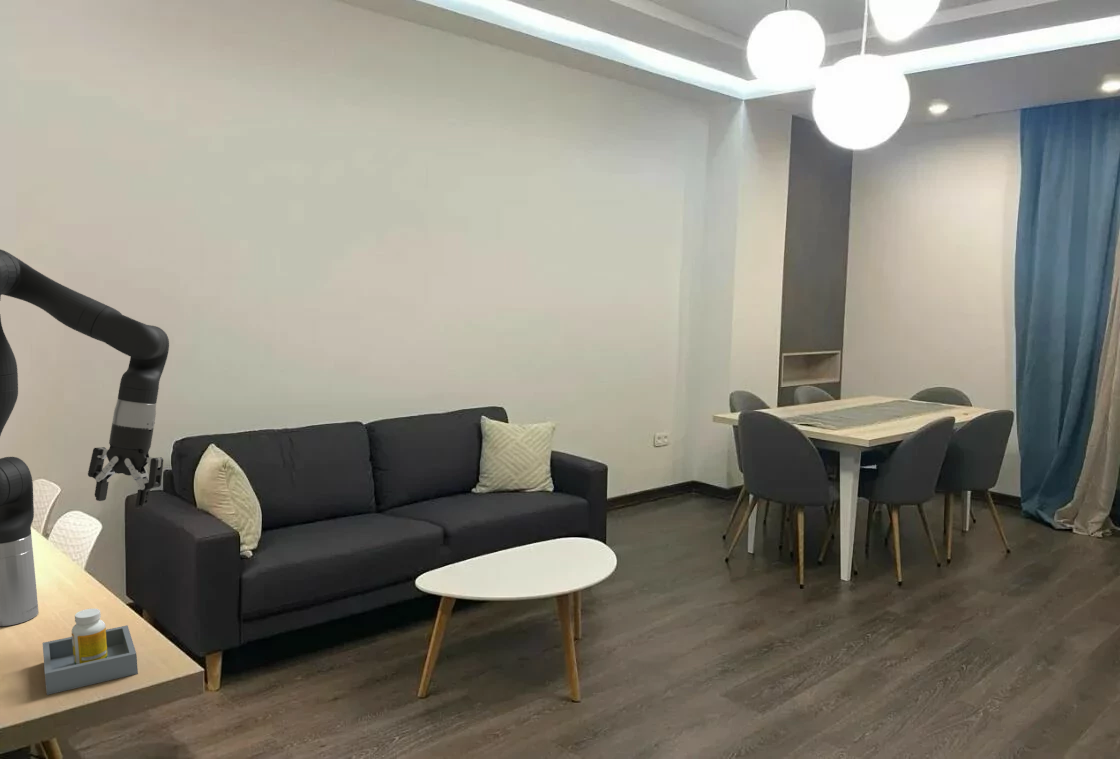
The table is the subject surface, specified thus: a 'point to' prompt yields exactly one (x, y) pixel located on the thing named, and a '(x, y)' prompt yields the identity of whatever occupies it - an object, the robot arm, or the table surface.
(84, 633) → the supplement bottle
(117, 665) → the tray
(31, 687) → the table surface
